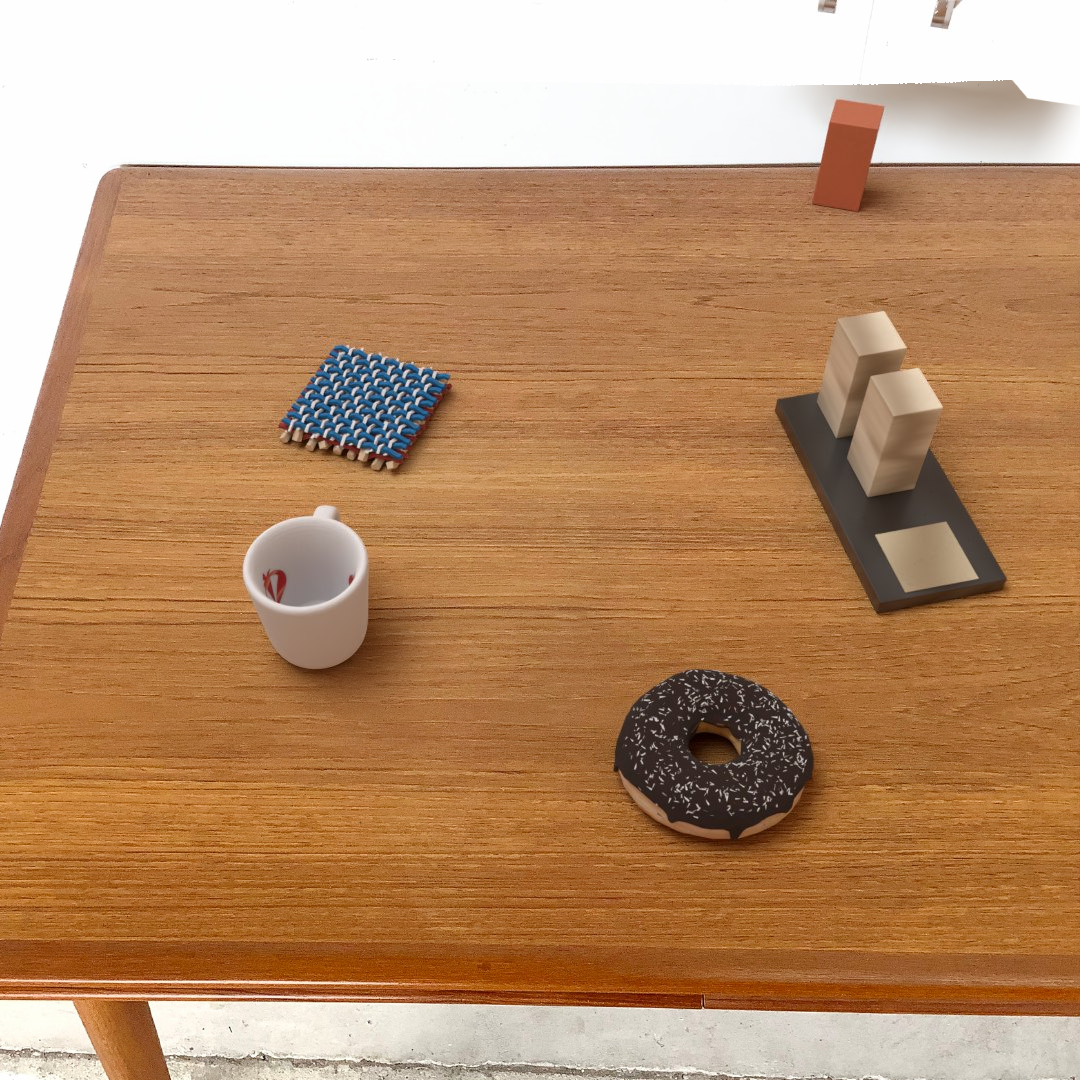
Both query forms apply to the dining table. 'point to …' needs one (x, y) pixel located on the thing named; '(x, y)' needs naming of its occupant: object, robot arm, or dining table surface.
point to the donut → (704, 789)
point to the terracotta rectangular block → (847, 154)
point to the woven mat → (365, 406)
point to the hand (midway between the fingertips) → (882, 18)
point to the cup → (310, 588)
